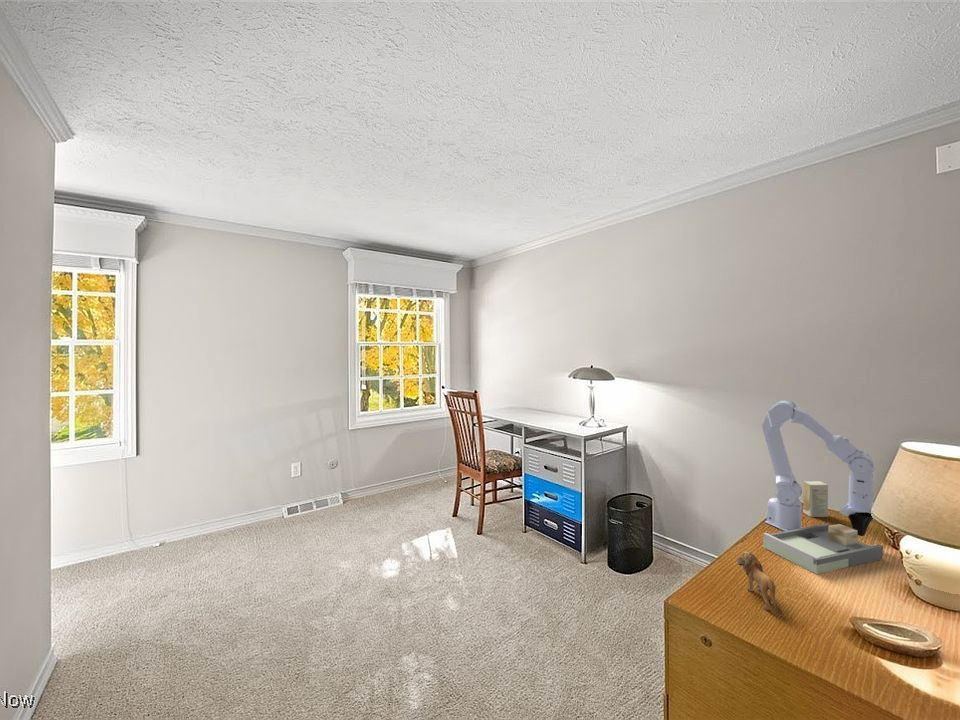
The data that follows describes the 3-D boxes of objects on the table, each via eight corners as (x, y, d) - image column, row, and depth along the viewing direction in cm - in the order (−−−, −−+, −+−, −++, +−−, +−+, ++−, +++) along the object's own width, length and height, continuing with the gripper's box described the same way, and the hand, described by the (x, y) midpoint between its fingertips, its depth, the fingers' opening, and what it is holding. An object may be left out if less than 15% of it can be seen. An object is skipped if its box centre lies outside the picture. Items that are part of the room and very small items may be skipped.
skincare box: (820, 512, 159) (820, 480, 158) (828, 517, 154) (829, 484, 154) (801, 512, 159) (802, 480, 159) (809, 517, 155) (810, 484, 154)
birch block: (827, 538, 133) (828, 526, 133) (839, 536, 134) (839, 523, 134) (845, 545, 128) (846, 532, 128) (857, 543, 130) (857, 530, 130)
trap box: (763, 547, 133) (763, 533, 133) (825, 535, 140) (825, 522, 140) (816, 574, 117) (816, 558, 117) (882, 559, 125) (883, 544, 125)
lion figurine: (732, 581, 114) (733, 548, 114) (751, 580, 115) (752, 548, 114) (771, 616, 100) (772, 579, 99) (793, 615, 100) (794, 578, 100)
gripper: (859, 499, 127) (857, 543, 128) (891, 494, 131) (890, 537, 132) (833, 491, 134) (832, 533, 134) (865, 486, 138) (863, 527, 138)
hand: (859, 534), depth 133 cm, fingers closed
